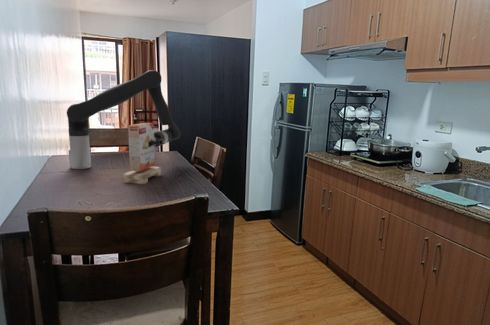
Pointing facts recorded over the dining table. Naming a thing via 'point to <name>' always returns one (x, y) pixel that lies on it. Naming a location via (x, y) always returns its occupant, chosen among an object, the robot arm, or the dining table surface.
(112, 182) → the dining table surface
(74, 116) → the robot arm
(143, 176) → the birch stand
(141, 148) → the cracker box
